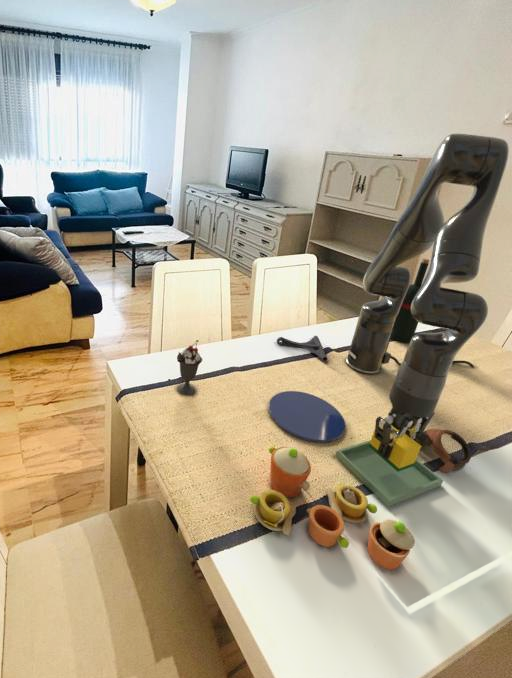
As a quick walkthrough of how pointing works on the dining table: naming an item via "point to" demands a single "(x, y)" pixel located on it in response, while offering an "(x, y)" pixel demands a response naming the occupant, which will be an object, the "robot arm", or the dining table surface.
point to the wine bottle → (408, 309)
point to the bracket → (306, 346)
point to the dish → (387, 474)
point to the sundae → (188, 368)
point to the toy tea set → (327, 511)
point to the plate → (306, 416)
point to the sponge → (399, 451)
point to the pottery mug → (435, 438)
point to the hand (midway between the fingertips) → (391, 452)
